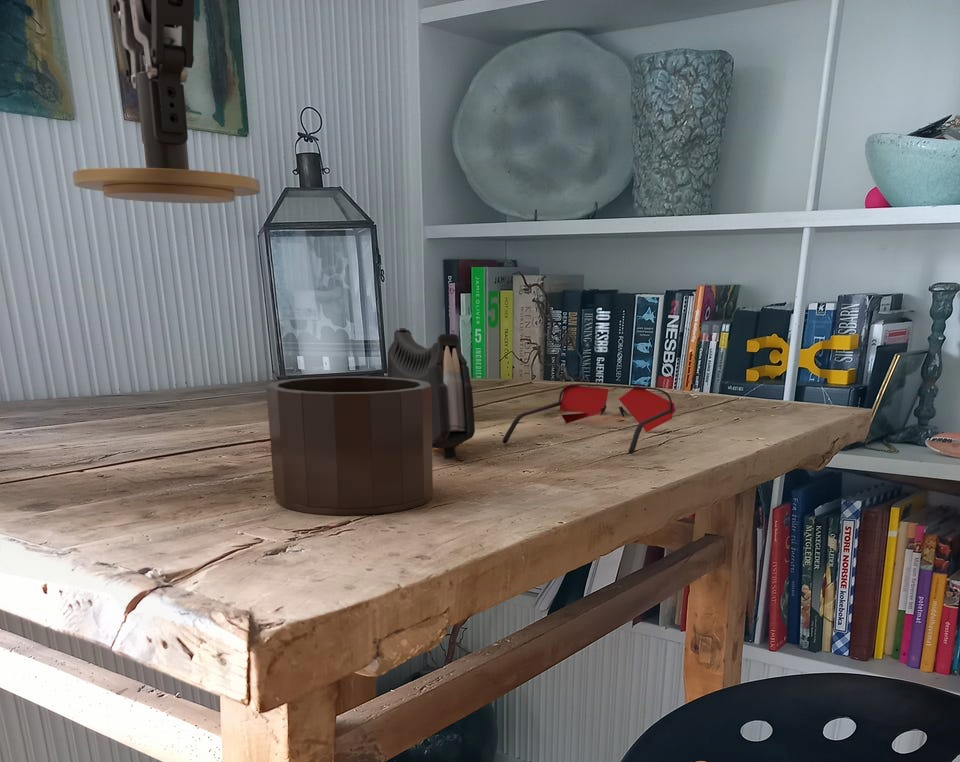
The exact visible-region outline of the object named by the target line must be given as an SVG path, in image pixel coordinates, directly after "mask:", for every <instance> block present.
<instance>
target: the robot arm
mask: <svg viewBox="0 0 960 762" xmlns="http://www.w3.org/2000/svg"><path fill="white" fill-rule="evenodd" d="M111 12H112V14H113V18H114V23H115V29H116V33H117V39H118V43H119V48H120V53H121V58H122V64H123V69H124V76H125V79H126V82H127V83H129V84H130V83H131V84H132V87H133V89H135V90H136V95H137V104H138V105H137V106H138V114H139V124H140V135H141V142H142V144H143V145H144V143H143V133H142V123H141V114H140V104H139V94H138V84H137V73H139V72H143V71H146V72H147V75H148V78H149V79H155V81H150V82H149V91H150V102H151V112H152V122H153V132H154V138H155V139H156V141H157V142H159V143H164V144H176V145H181V144H184V143H186V142H187V143H188V139H189V135H188V123H187V112H186V99H185V98H186V97H185V88H184V87H185V86H184V84H186V83H187V79H188V75H189V72H188V69H193V65H194V60H195V57H194V35H195V32H194V31H195V29H194V28H195V0H112V4H111ZM142 56H144V60H145V64H144V65H143V64H142ZM180 82H182V84H180Z"/></svg>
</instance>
